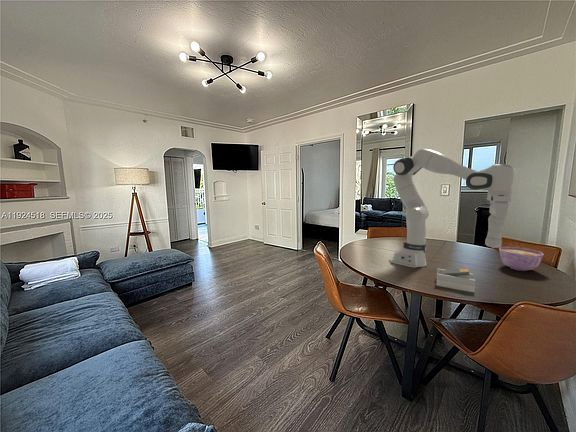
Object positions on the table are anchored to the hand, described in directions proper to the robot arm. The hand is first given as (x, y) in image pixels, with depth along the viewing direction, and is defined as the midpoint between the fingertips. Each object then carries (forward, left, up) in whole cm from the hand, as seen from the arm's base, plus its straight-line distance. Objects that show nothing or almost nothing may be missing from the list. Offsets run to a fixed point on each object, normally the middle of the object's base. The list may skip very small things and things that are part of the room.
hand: (495, 224), depth 120 cm
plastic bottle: (0, 0, -12) cm, 12 cm away
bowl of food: (+20, +42, -33) cm, 57 cm away
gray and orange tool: (-15, -7, -27) cm, 32 cm away
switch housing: (-15, -7, -33) cm, 37 cm away
